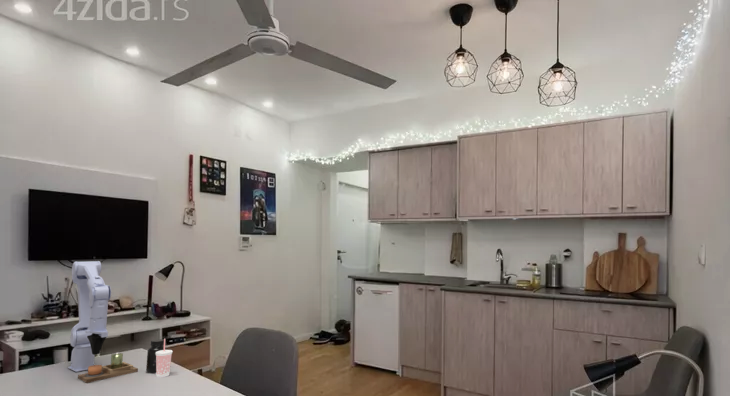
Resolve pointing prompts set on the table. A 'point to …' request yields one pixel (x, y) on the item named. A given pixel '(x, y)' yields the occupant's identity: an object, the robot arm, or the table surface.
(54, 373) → the table surface
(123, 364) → the board
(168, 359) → the beverage cup
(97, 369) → the button
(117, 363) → the cell
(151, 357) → the supplement bottle
